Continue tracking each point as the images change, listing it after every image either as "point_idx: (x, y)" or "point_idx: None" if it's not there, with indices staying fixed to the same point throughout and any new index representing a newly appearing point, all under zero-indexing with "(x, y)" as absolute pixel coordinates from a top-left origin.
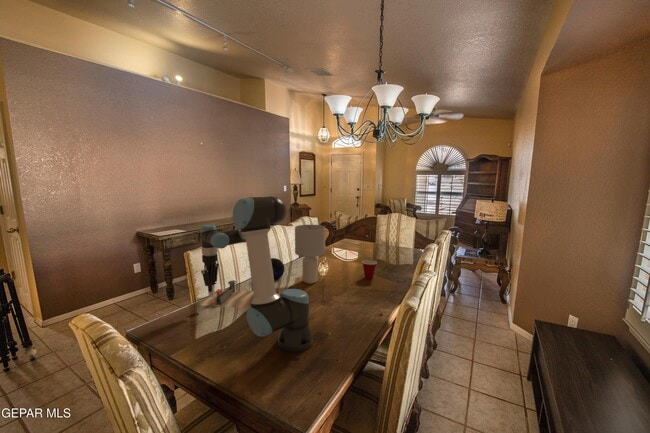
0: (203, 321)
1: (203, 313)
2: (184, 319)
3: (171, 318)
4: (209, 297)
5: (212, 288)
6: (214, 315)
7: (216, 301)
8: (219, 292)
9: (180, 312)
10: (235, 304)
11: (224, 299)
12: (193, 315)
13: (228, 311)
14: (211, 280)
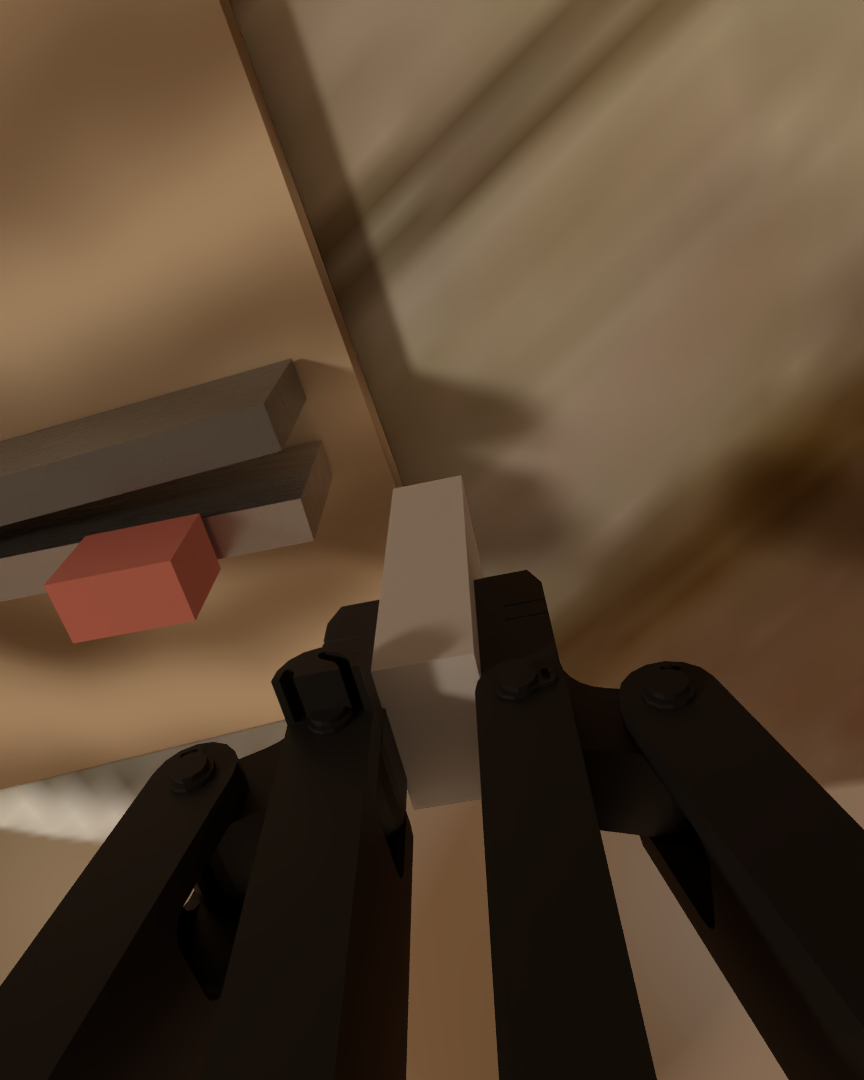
0: (854, 241)
1: (604, 459)
2: (850, 569)
3: (857, 730)
4: (183, 730)
5: (473, 606)
6: (604, 221)
7: (314, 468)
8: (165, 549)
9: None
10: (108, 81)
11: (142, 411)
12: (707, 547)
13: (364, 67)
14: (547, 832)
